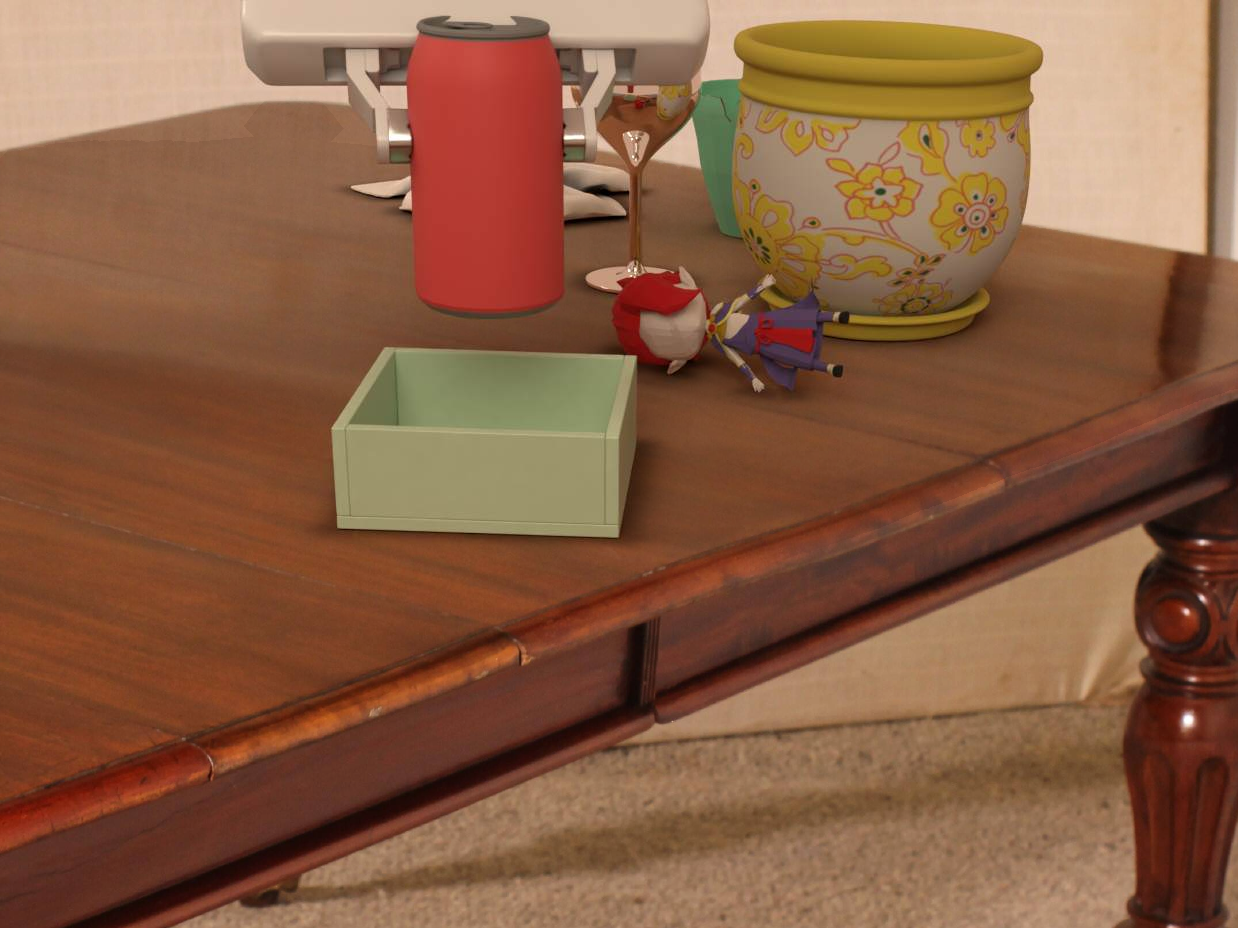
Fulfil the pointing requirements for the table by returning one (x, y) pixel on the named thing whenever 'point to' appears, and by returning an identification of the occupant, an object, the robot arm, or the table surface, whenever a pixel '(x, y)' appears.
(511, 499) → the tub
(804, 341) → the figurine
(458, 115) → the beer can
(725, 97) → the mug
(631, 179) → the wineglass
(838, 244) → the flowerpot
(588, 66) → the robot arm
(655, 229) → the table surface
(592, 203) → the cloth
